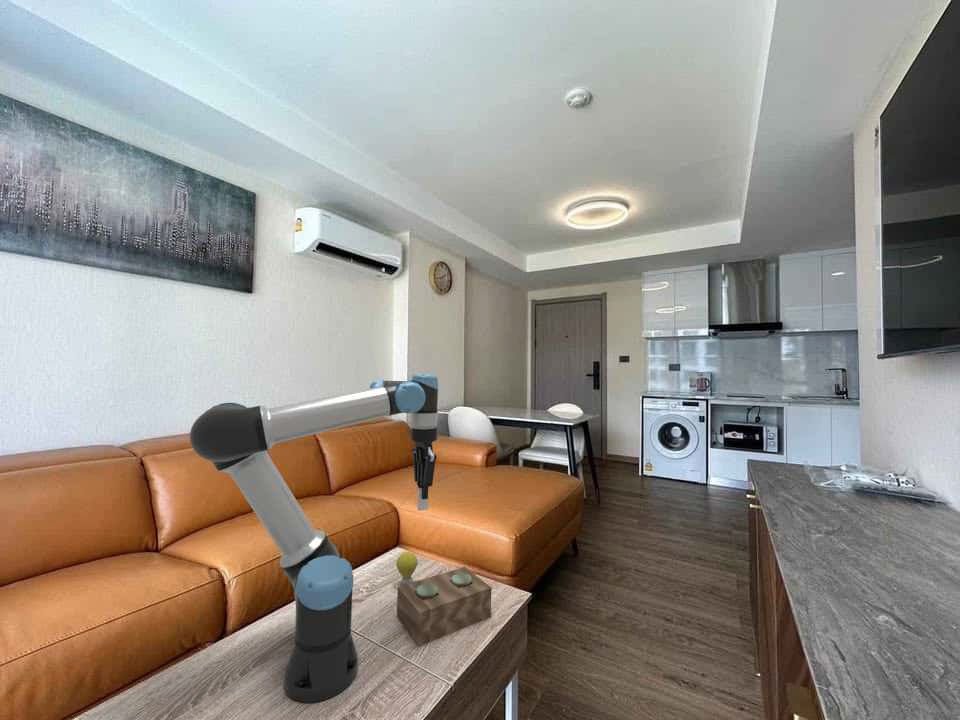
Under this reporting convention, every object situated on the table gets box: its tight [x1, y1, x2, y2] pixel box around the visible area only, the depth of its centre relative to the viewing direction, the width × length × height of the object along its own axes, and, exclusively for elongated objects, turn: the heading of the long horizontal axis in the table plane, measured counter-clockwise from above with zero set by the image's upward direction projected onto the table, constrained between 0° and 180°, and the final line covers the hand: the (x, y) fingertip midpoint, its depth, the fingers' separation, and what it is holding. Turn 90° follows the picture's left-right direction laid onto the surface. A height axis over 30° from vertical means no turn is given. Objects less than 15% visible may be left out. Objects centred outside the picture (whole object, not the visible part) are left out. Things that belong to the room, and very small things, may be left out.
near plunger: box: [416, 583, 437, 600], centre depth 105 cm, size 6×6×8 cm
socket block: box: [396, 566, 492, 647], centre depth 109 cm, size 22×14×8 cm, turn 124°
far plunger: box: [452, 573, 471, 588], centre depth 112 cm, size 6×6×8 cm
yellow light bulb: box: [395, 551, 419, 586], centre depth 125 cm, size 7×7×10 cm
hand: (422, 509), depth 113 cm, fingers closed
